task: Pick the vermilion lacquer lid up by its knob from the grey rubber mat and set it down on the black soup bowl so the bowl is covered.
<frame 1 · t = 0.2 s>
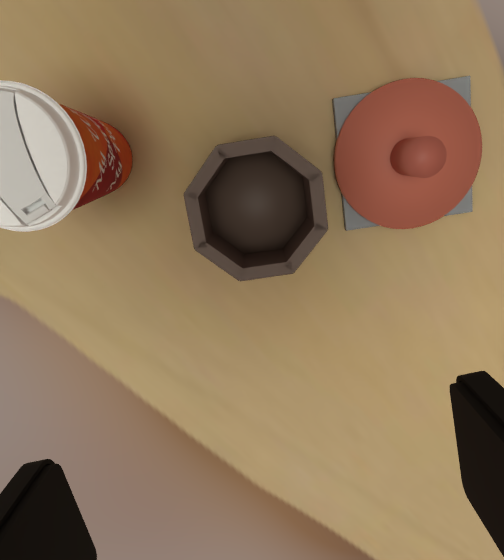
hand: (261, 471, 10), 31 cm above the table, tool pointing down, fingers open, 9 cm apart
lid: (405, 156, 37), point 1 cm above the table, touching mat
mat: (403, 156, 37), on the table
bowl: (256, 203, 39), on the table
coffee cup: (98, 157, 38), on the table
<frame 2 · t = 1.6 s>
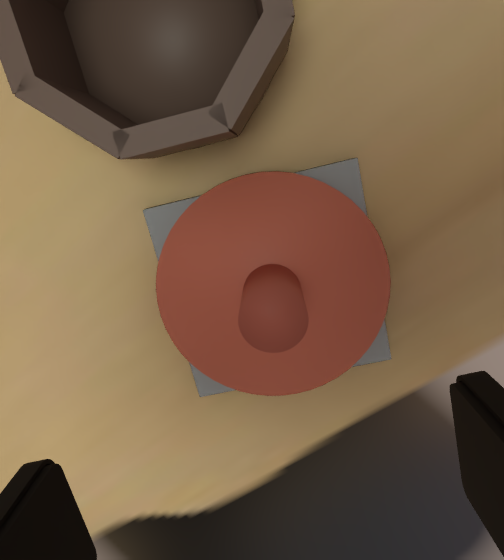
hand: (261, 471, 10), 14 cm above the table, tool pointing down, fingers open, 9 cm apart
lid: (272, 287, 23), point 1 cm above the table, touching mat
mat: (271, 284, 24), on the table
bowl: (169, 35, 20), on the table
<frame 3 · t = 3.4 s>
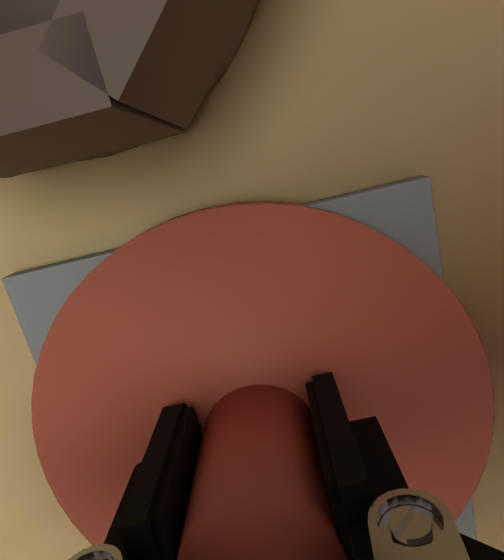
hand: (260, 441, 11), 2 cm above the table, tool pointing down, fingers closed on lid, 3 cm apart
lid: (260, 418, 12), point 1 cm above the table, touching gripper, mat
mat: (258, 407, 13), on the table
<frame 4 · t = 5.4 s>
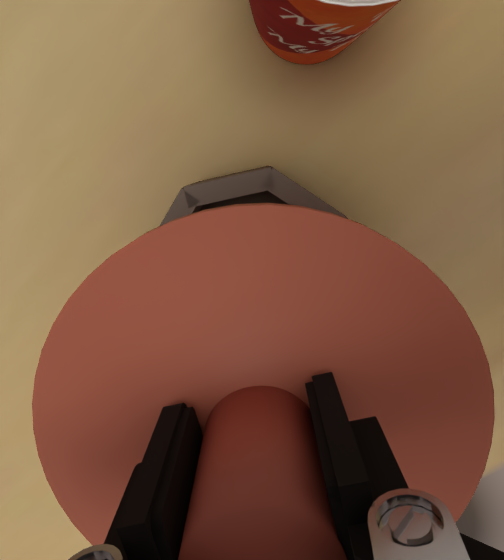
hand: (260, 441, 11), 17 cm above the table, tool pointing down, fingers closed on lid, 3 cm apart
lid: (261, 419, 12), point 16 cm above the table, touching gripper
bowl: (252, 256, 27), on the table
coffee cup: (308, 5, 24), on the table
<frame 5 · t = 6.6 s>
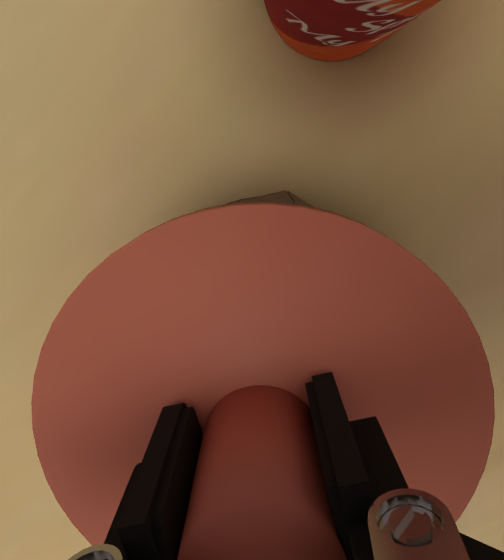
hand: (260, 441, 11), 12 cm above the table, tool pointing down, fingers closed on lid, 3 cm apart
lid: (260, 419, 12), point 10 cm above the table, touching gripper
bowl: (265, 299, 22), on the table
when the fingers open (9 cm above the table, at t = 7.3 s): lid drops 2 cm, resting on bowl.
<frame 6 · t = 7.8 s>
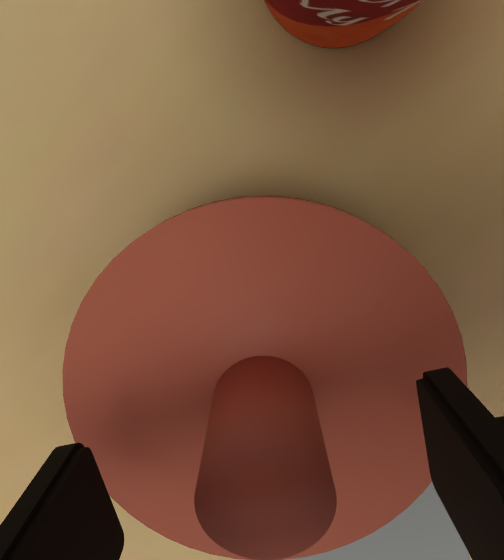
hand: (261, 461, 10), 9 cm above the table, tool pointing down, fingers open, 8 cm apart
lid: (263, 388, 14), point 6 cm above the table, touching bowl
mat: (354, 540, 23), on the table
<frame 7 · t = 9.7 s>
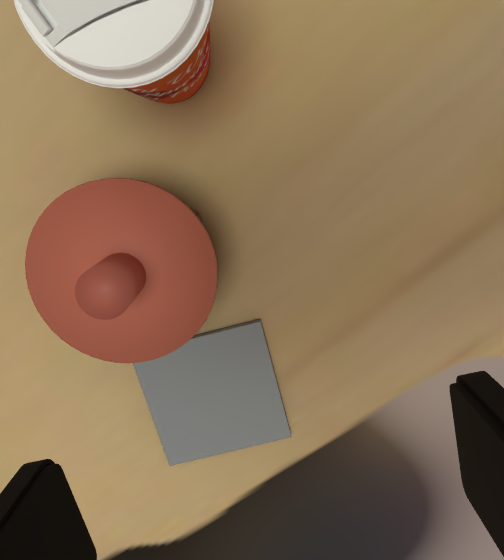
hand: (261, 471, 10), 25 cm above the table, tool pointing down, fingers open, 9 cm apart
lid: (125, 272, 28), point 6 cm above the table, touching bowl
mat: (213, 393, 37), on the table
coffee cup: (168, 58, 31), on the table
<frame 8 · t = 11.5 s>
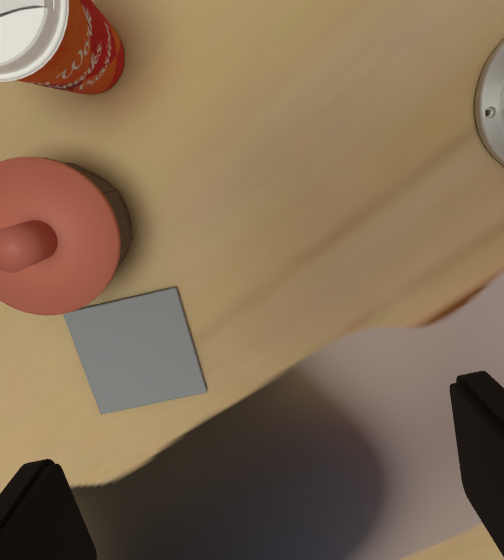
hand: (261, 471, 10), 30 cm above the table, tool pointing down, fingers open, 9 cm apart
lid: (42, 238, 33), point 6 cm above the table, touching bowl
mat: (138, 351, 42), on the table
bowl: (73, 226, 39), on the table
coffee cup: (90, 55, 36), on the table
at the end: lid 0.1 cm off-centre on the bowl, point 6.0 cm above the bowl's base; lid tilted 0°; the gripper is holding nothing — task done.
